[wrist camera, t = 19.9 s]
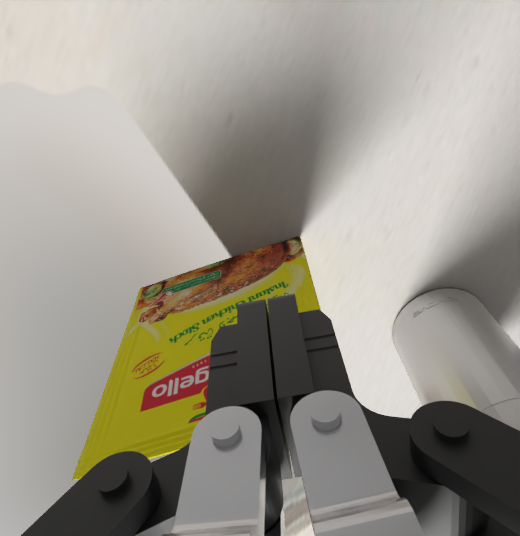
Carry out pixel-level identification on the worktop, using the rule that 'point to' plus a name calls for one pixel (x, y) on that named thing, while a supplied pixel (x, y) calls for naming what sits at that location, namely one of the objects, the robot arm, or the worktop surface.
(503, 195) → the worktop surface
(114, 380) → the food package
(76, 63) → the worktop surface
